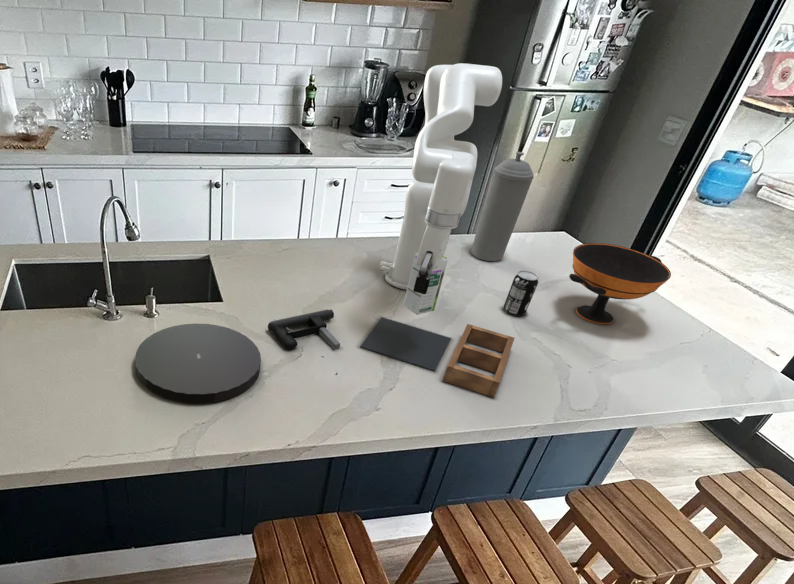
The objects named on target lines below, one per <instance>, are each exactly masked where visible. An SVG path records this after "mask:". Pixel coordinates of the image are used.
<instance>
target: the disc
mask: <svg viewBox="0 0 794 584" xmlns="http://www.w3.org/2000/svg"><path fill="white" fill-rule="evenodd" d="M261 358H262V357H261V353H260V350H259V347H258V346H257V344H255V342H254V341H252V340H251V339H250V338H249V337H248V336H246V335H244V334H243V333H241V332H239V331H238V330H235V329H232V328H230V327H226V326H222V325H218V324H210V323H183V324H178V325H173V326H169V327H165V328H163V329H161V330H157V331H156V332H154V333H152V334H151V335H149V336H147V337H146V338H145V339H143V341H142V342H141V343H139V345H138V348H137V349H136V351H135V355H134V362H135V366H136V367H135V368H136V375H137V377H138V379H139V381H140V382H141V384H143V386H144V387H145V388H147V390H149V391H151V392H153V393H154V394H155V395H158V396H159V397H162V398H164V399H168V400H170V401H175V402H179V403H186V404H210V403H212V404H213V403H218V402H223V401H226V400H229V399H232V398H235V397H237V396H239V395H241V394H242V393H244V392H246V391H248V390H249V389H250V388H251V387H252V386H253V385H254V384H255V382H256V381H257V380H258V379H259V374H260V372H261V363H262V359H261Z"/></svg>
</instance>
